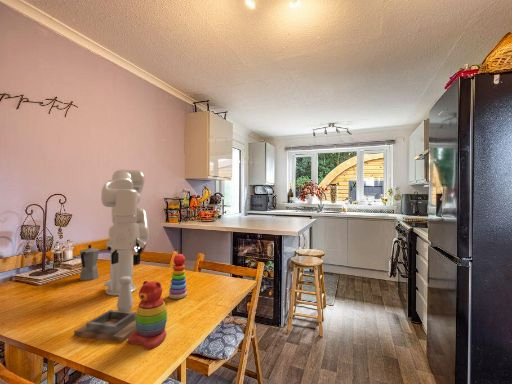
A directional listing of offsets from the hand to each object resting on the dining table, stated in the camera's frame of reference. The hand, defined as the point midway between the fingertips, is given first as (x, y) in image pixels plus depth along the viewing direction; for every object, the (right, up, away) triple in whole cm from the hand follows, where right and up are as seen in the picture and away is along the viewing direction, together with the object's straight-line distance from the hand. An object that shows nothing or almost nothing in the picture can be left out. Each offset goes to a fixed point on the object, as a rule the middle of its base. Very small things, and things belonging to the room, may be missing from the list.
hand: (125, 264), depth 104 cm
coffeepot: (-39, -19, +39) cm, 58 cm away
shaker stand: (+3, -18, -15) cm, 23 cm away
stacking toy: (+16, -19, +15) cm, 29 cm away
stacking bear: (+18, -18, -20) cm, 32 cm away
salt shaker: (0, -18, 0) cm, 18 cm away
